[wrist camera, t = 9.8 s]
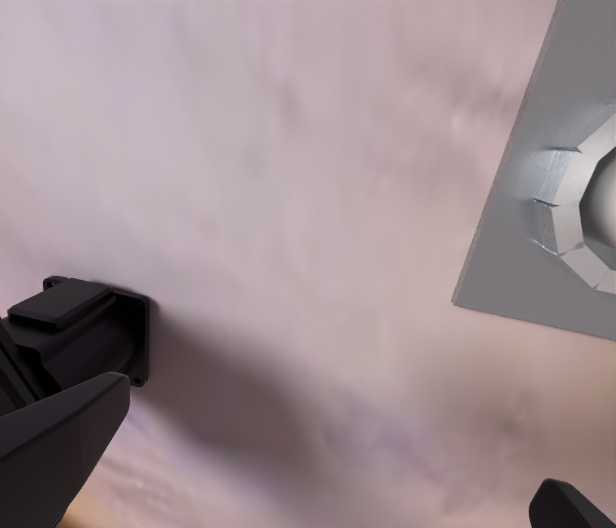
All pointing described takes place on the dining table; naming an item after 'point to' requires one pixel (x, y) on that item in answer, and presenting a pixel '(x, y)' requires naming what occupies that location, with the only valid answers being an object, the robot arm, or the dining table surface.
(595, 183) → the cylinder
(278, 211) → the dining table surface
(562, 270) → the plate
